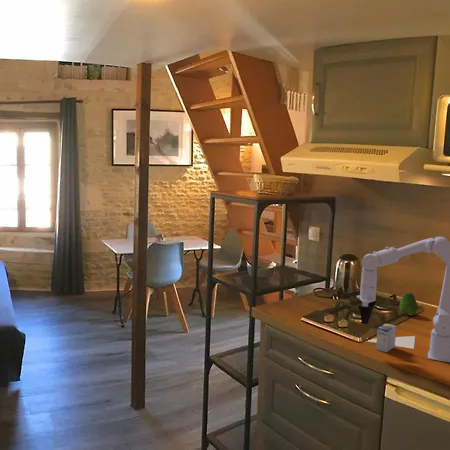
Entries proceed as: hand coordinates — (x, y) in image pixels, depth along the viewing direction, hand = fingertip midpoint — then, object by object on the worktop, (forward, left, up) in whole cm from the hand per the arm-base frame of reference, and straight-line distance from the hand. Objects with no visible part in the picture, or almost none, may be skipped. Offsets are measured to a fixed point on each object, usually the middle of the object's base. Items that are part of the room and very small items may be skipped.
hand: (365, 320), depth 191 cm
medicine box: (-8, -1, -10) cm, 13 cm away
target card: (-8, -16, -10) cm, 21 cm away
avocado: (-14, -52, -10) cm, 55 cm away
